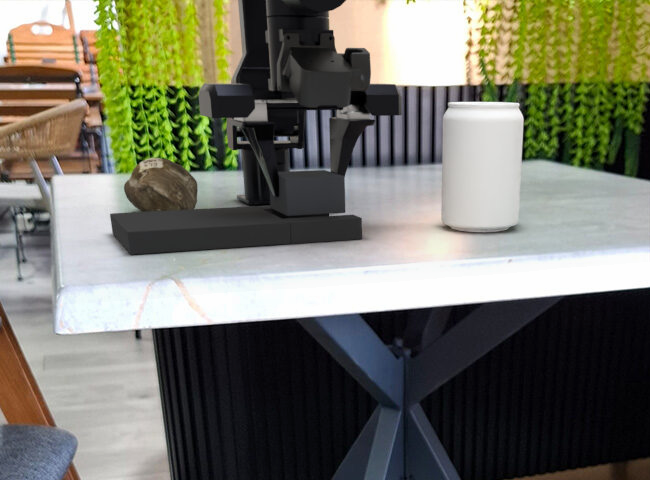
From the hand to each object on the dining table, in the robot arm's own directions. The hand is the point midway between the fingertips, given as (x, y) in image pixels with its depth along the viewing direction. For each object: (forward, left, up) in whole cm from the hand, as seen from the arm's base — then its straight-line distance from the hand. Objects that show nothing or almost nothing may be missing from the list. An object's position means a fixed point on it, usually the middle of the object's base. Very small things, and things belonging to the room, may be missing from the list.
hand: (306, 194), depth 89 cm
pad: (0, 0, -2) cm, 2 cm away
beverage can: (+4, +18, -4) cm, 18 cm away
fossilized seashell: (-18, -11, -4) cm, 22 cm away
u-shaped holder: (0, -7, -4) cm, 8 cm away
